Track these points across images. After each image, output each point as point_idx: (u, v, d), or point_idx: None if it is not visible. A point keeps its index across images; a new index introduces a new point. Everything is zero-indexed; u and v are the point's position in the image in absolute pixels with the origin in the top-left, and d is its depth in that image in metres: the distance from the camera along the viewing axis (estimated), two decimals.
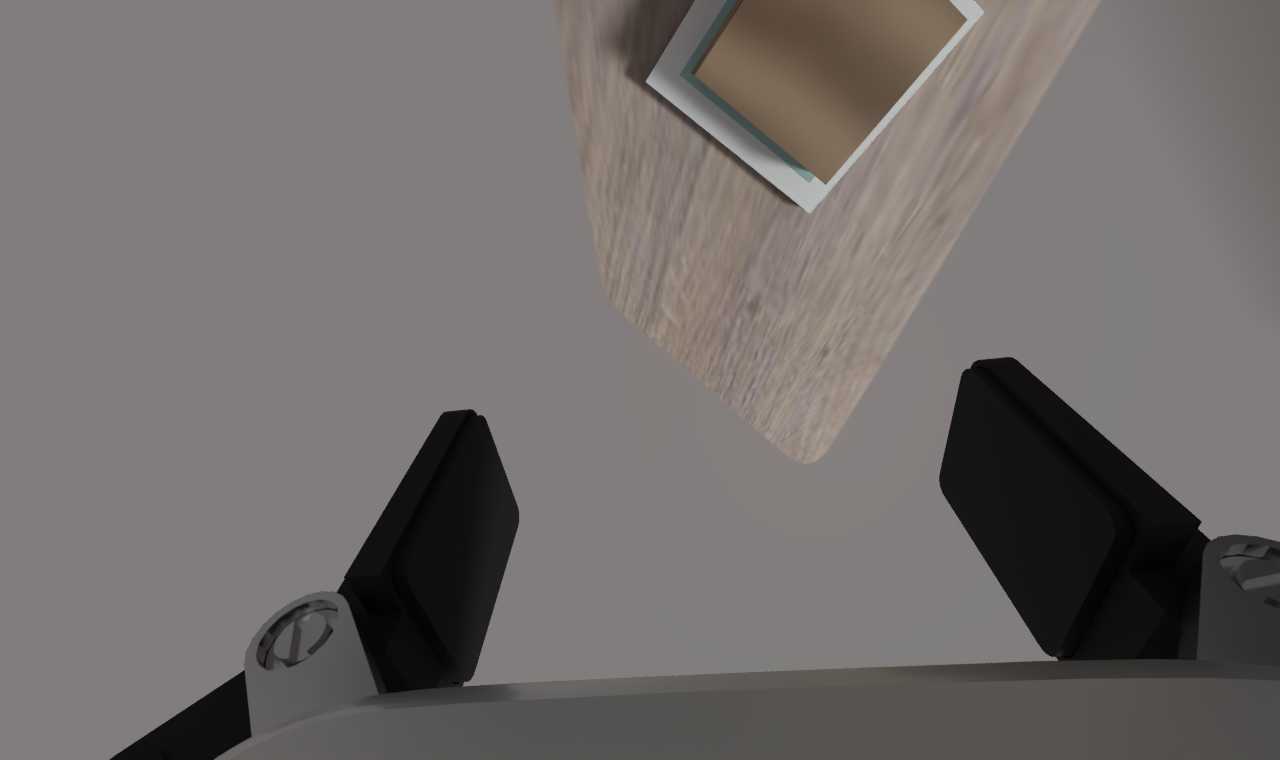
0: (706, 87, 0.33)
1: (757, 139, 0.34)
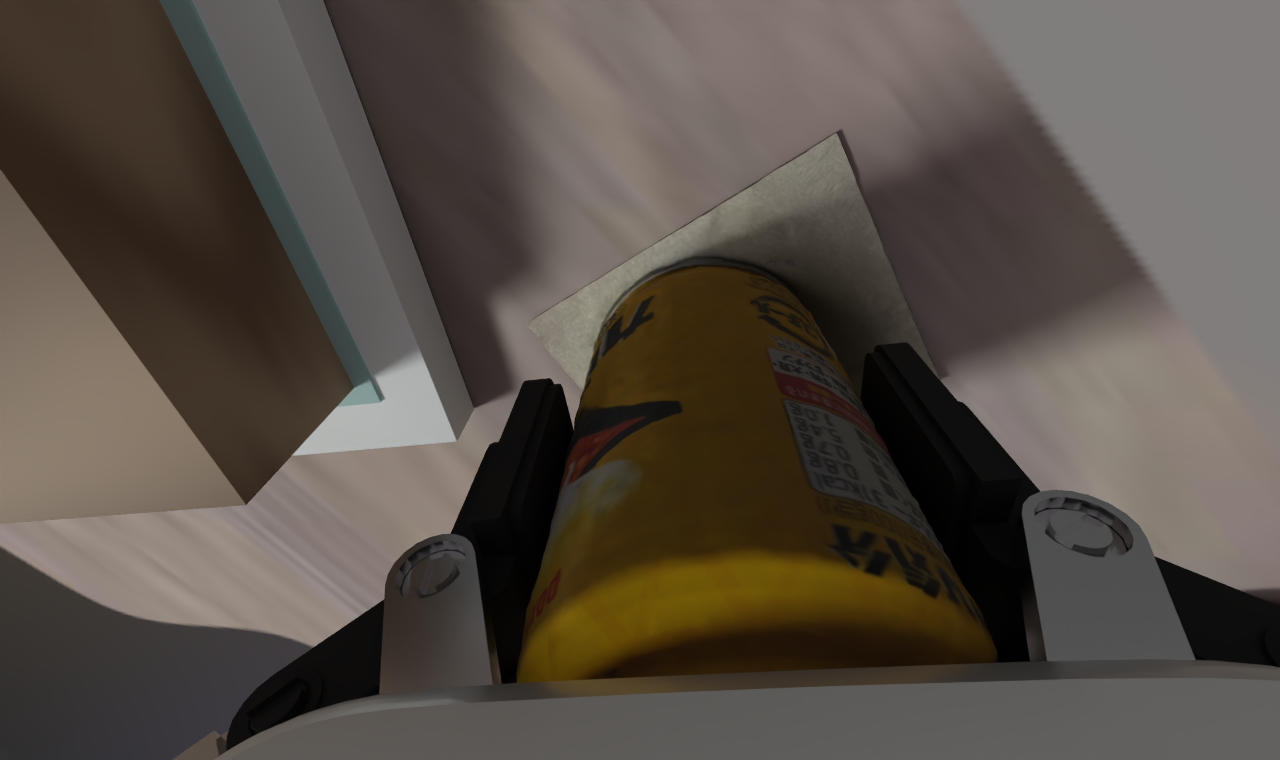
0: None
1: None
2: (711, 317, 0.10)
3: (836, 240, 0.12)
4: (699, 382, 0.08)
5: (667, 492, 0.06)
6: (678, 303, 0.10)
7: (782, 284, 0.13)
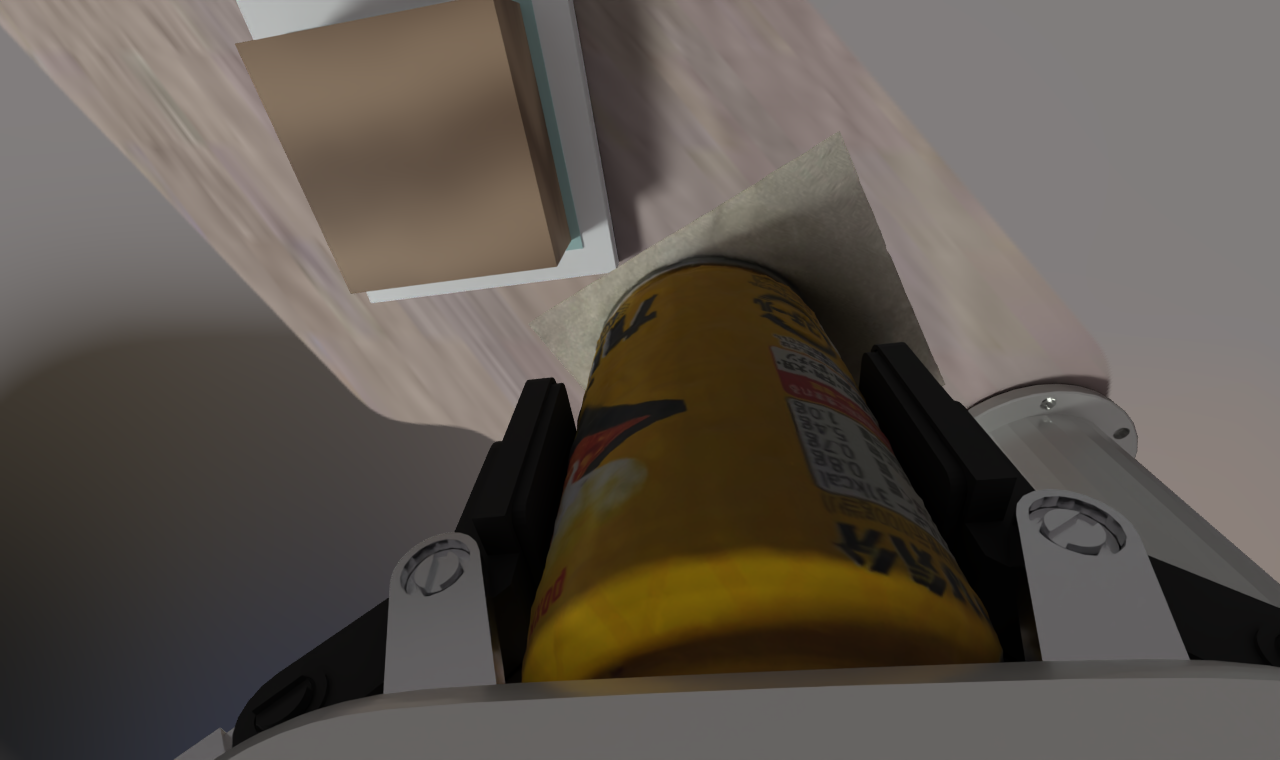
0: None
1: None
2: (714, 315, 0.10)
3: (838, 238, 0.12)
4: (704, 381, 0.08)
5: (671, 490, 0.06)
6: (681, 301, 0.10)
7: (785, 283, 0.13)
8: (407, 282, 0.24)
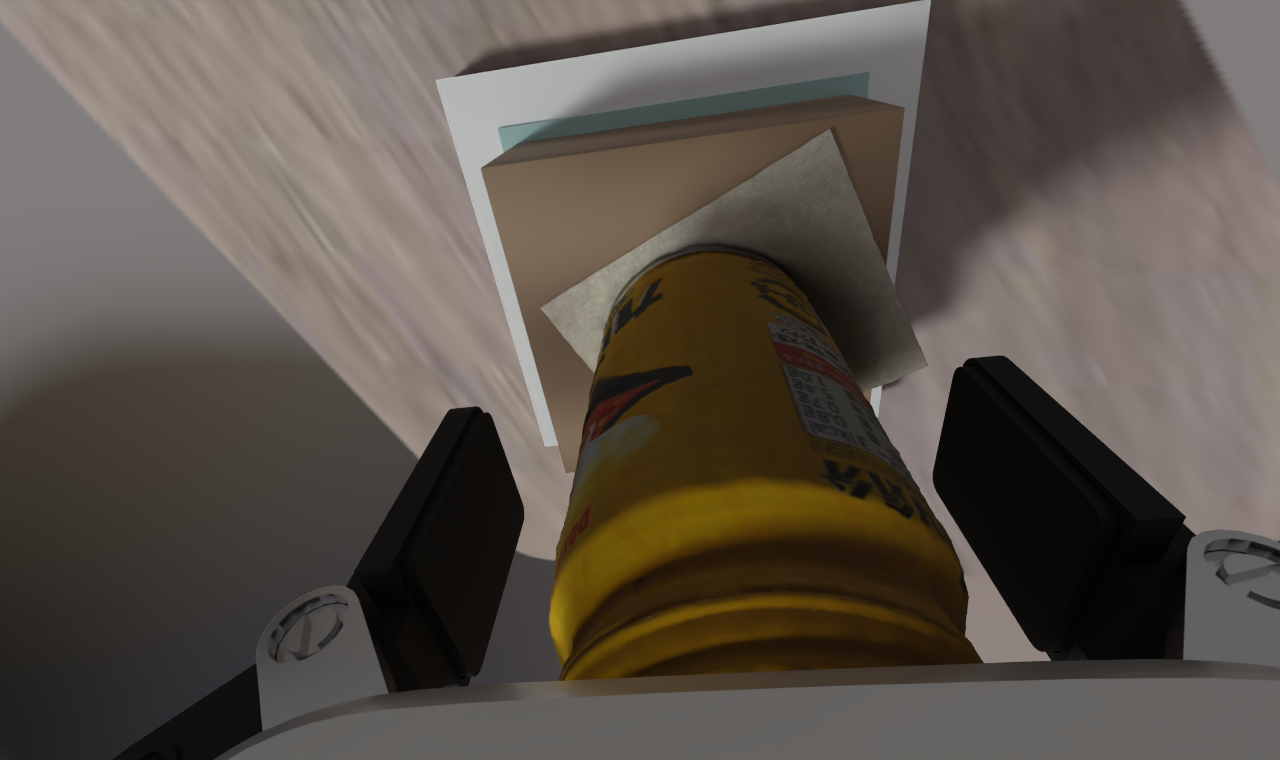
0: (804, 97, 0.15)
1: (647, 105, 0.16)
2: (716, 295, 0.11)
3: (829, 228, 0.13)
4: (707, 350, 0.09)
5: (682, 437, 0.07)
6: (684, 284, 0.11)
7: (779, 269, 0.14)
8: None
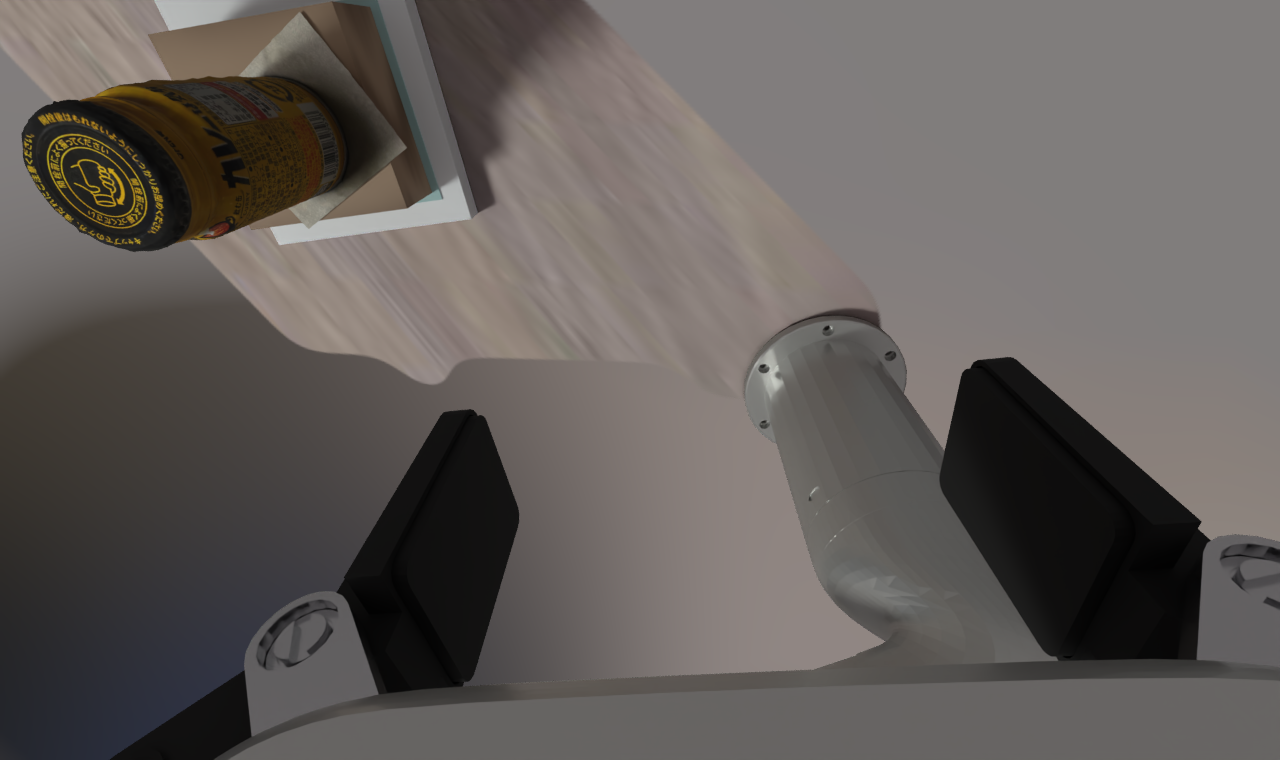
0: None
1: None
2: None
3: (323, 65, 0.27)
4: (177, 82, 0.23)
5: None
6: None
7: (308, 89, 0.28)
8: (294, 220, 0.31)
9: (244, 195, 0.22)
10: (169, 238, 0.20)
